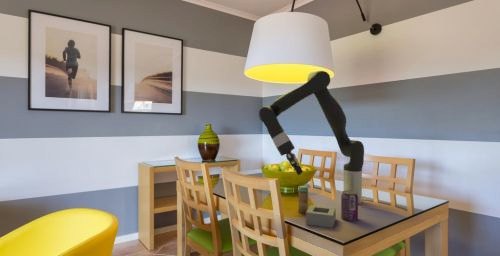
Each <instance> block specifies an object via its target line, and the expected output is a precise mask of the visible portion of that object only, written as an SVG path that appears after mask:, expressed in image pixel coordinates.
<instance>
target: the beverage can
mask: <svg viewBox="0 0 500 256" xmlns="http://www.w3.org/2000/svg"><path fill="white" fill-rule="evenodd" d="M340 201H341V203H340V216H341V218H342V219H344V220H346V221H351V222H353V221H356V220H358V219H359V204H358V195H357V192H355V191H349V190H346V191H344V190H342V193H341V197H340Z"/></svg>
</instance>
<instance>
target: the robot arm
mask: <svg viewBox="0 0 500 256" xmlns="http://www.w3.org/2000/svg"><path fill="white" fill-rule="evenodd" d="M330 83H331V76H330V74H329V72H327V71H325V70H313V71H311V72H309V73H308V75H307V79H306V82H305V83H304V84H302V85H300V86H299V87H296V88H295V89H292V90H290V91H288V92H286V93H284V94H282V95H281V96H280V97H278V98H277V99H275V100H274V102H273V103H272V104H270V105H266V106H265V105H263V106H262V107H261V108H260V109H259V111H258V116H259V120H260V121H261V122H262V123H263V124H264V126H265V127H266V130H267V133H268V134H269V136H270V138H271V140H272V142H273V143H274V146H275V147H276V149H277V151H278V153H279V155H280V156H282V157H283V156H286V160H287V162H289V165H290V167H292V168H293V169H294V170H295V172H296V174H297V176H300V175H301V174H302V173H303V172H304V170H303V169H302V167H301V165H300V161H298V160H299V159H298V158H297V156H296V155H295V153H293V152H292V151H294V149H295V148H296V147H295V146H294V144H293V142H292V140H291V139H290V137H289V135H288V134H287V133H286V132H285V130H284V129H283V127H282V125H281V123H280V122H279V120H278V117H279V116H280V115H281V114H282V113H284V112H286V111H287V110H289V109H291V107H293V106H295V105H296V104H297V103H299V102H300V101H303V100H304V99H306V98H307V97H309V96H312V95H313V94H314V96H315V98H316V99H317V102H318V104H319V106H320V108H321V110H322V112H323V114H324V117H325V119H326V121H327V122H328V125H329V126H330V128H331V131H332V132H333V135H334V137H335V139H336V141H337V143H336V144H337V145H338V148H339V150H340V152H341V154H342V155H343V156H344V157H347V158H349V161H348V162H347V163H344V164H343V191H346V190H349V191H355V192H357V195H358V205H361V204H362V200H363V196H362V195H363V191H362V190H363V167H364V161H365V160H364V158H365V146H364V144H363V142H362V141H360V140H353V139H352V140H351V139H350V138H349V136H348V133H347V130H346V127H347V117H346V114H345V111H344V110H343V108H342V106H341V104H340V103H339V102H338V101H337V100H336V98H335V97H334V96H333V95H332V93H330V90H329V89H328V87H329V86H330Z"/></svg>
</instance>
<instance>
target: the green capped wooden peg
mask: <svg viewBox="0 0 500 256" xmlns="http://www.w3.org/2000/svg"><path fill="white" fill-rule="evenodd" d="M308 209H309V187H308V186H305V185H299V186H298V213H299V212H300V214H306V211H307V210H308Z"/></svg>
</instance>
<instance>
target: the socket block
mask: <svg viewBox="0 0 500 256" xmlns="http://www.w3.org/2000/svg"><path fill="white" fill-rule="evenodd" d="M336 210H337V208H336V207H331V206H330V207H329V206H321V205H312V204H310V206H308V210H307V211H306V213H305V224H306V225H309V224H311V225H310V226H317V225H318V226H319V227H325V228H331V227H332V229H333V228H334V225H335V222H336V218H337V217H336V216H337V213H336ZM318 226H317V227H318Z"/></svg>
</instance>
